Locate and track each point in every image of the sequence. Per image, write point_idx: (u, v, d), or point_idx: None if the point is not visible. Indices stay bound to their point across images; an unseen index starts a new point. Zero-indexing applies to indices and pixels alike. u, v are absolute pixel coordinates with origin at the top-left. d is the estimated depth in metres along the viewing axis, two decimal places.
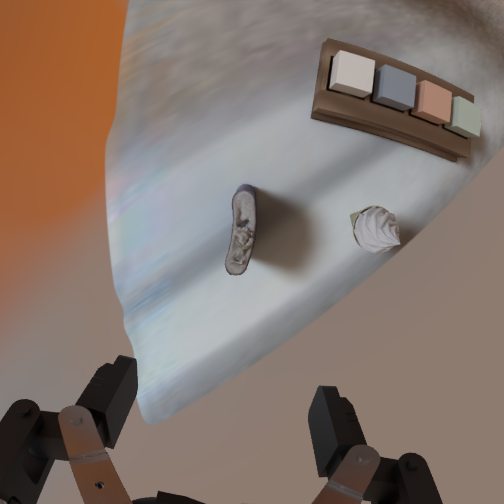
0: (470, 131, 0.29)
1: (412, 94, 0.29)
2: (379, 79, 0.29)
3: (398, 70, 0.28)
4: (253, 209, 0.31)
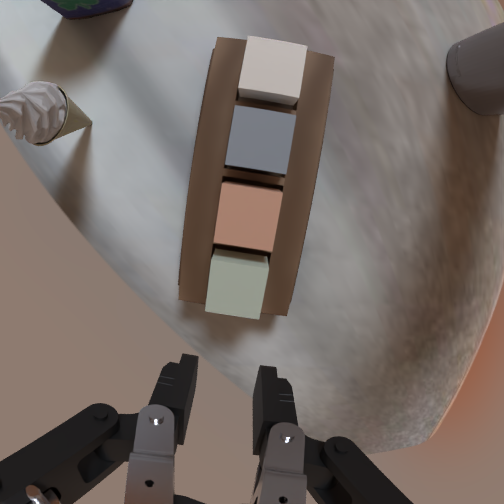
0: (209, 290, 0.23)
1: (248, 163, 0.20)
2: None
3: (289, 138, 0.20)
4: None
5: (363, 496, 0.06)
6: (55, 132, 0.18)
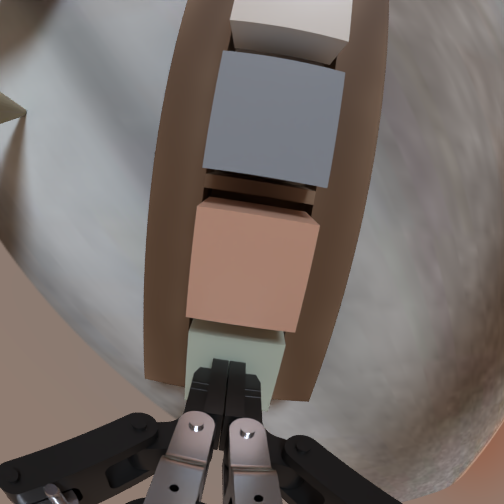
0: (188, 374, 0.13)
1: (251, 164, 0.10)
2: None
3: (333, 116, 0.09)
4: None
5: (336, 494, 0.07)
6: None
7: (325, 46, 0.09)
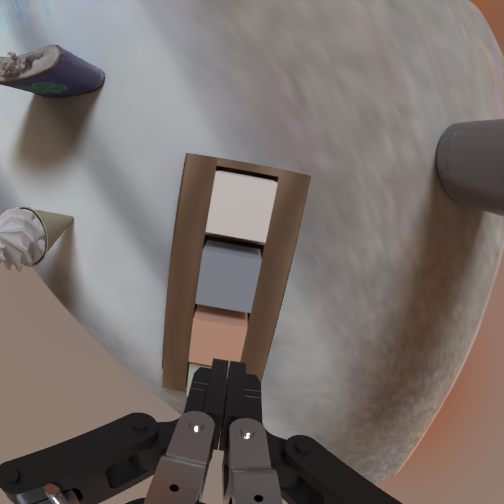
0: (188, 383, 0.27)
1: (216, 303, 0.23)
2: (238, 250, 0.23)
3: (254, 282, 0.22)
4: (38, 71, 0.16)
5: (336, 494, 0.07)
6: (39, 258, 0.20)
7: None
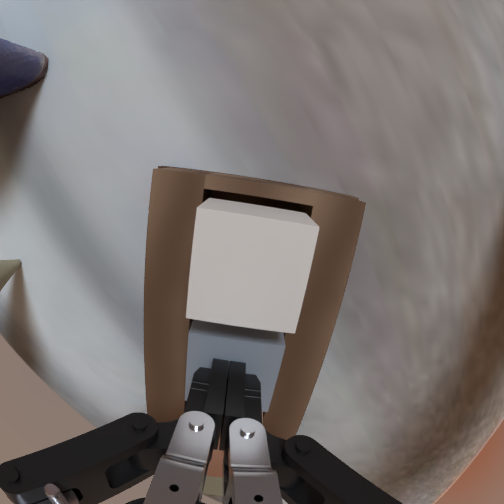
0: None
1: None
2: None
3: (273, 376, 0.13)
4: None
5: (336, 494, 0.07)
6: None
7: None
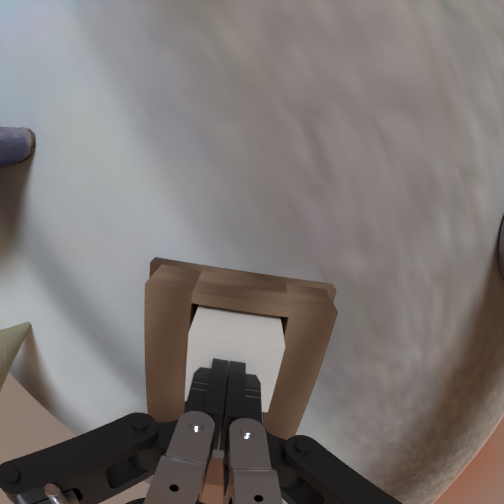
0: None
1: None
2: None
3: None
4: None
5: (336, 494, 0.07)
6: None
7: None
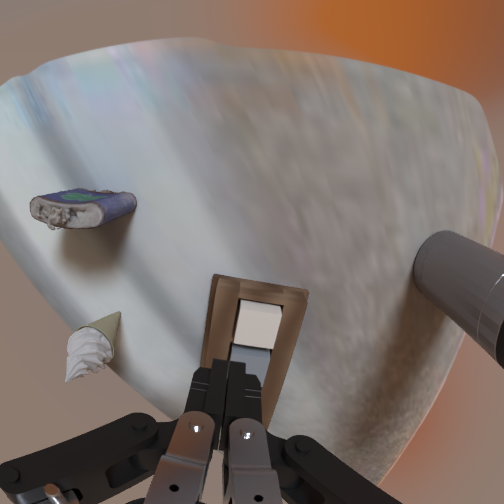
0: None
1: None
2: (254, 349, 0.33)
3: (265, 370, 0.33)
4: (85, 226, 0.25)
5: (336, 494, 0.07)
6: (107, 360, 0.29)
7: None
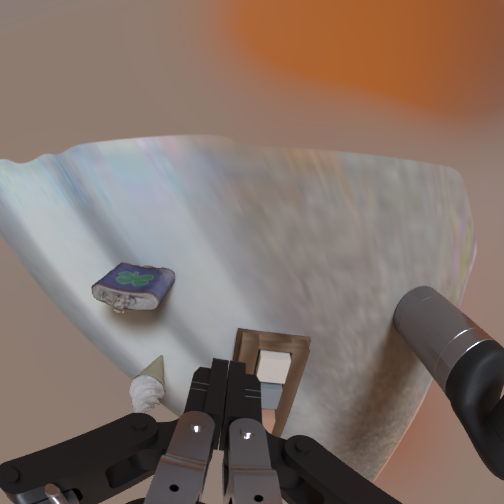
0: None
1: None
2: (270, 383, 0.43)
3: (278, 398, 0.42)
4: (144, 309, 0.35)
5: (336, 494, 0.07)
6: (159, 397, 0.39)
7: None
